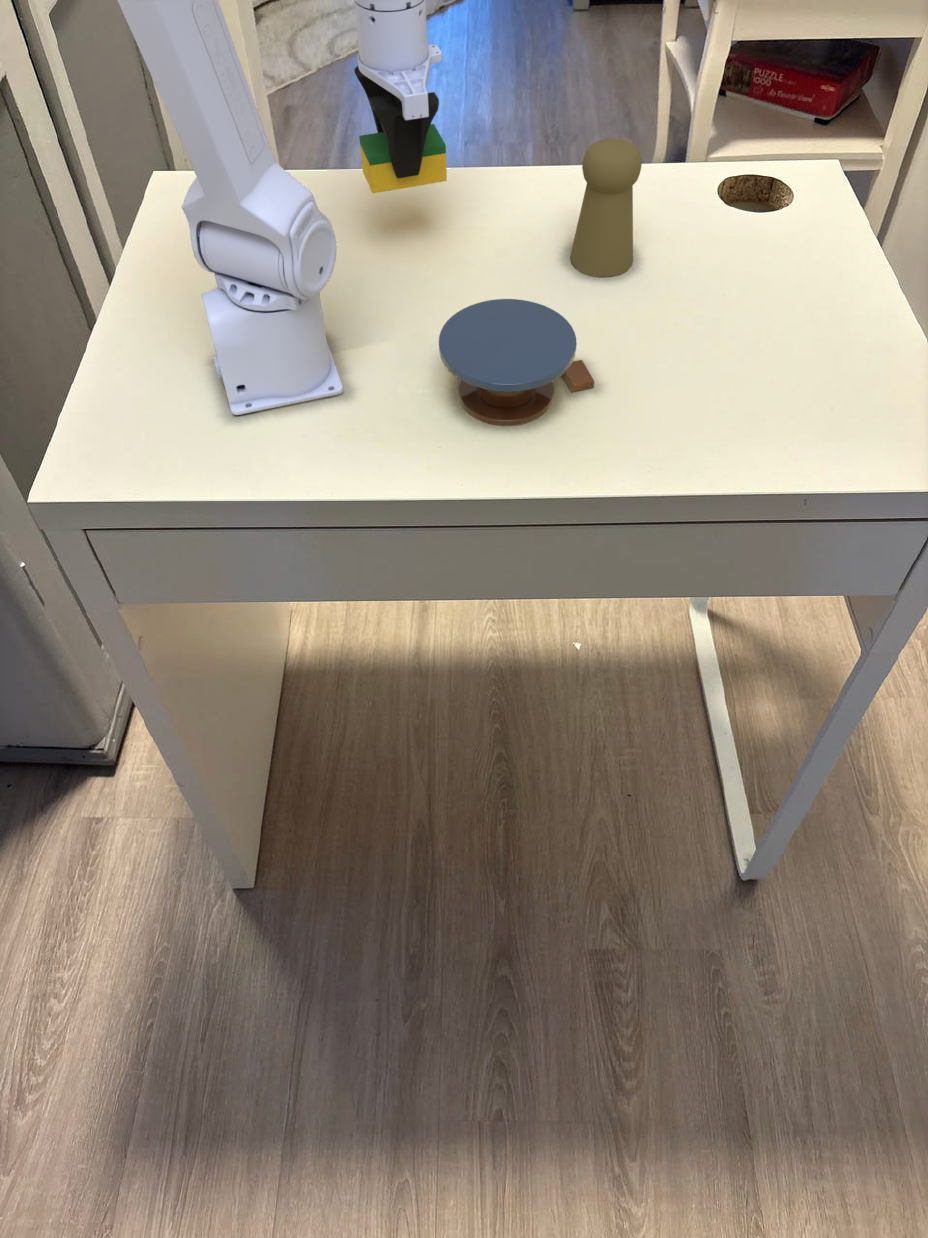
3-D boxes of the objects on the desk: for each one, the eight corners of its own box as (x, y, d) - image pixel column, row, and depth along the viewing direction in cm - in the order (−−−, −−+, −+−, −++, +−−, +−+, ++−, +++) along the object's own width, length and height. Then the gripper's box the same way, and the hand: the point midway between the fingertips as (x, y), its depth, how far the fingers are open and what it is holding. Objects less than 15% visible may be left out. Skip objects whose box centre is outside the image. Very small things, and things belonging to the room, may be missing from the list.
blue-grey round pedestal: (462, 450, 79) (461, 396, 74) (425, 366, 85) (422, 312, 81) (591, 422, 80) (597, 368, 76) (545, 342, 87) (548, 288, 82)
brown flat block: (594, 380, 83) (593, 389, 83) (582, 359, 84) (581, 367, 85) (572, 385, 82) (571, 393, 83) (560, 363, 84) (559, 372, 85)
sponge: (372, 193, 89) (369, 156, 86) (362, 171, 91) (358, 135, 88) (446, 180, 90) (445, 144, 87) (435, 159, 92) (433, 123, 90)
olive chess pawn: (632, 242, 96) (648, 129, 87) (633, 278, 93) (649, 164, 84) (571, 239, 97) (580, 127, 88) (568, 275, 93) (578, 161, 84)
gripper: (463, 27, 75) (465, 195, 86) (414, -44, 83) (422, 118, 94) (373, 40, 74) (387, 209, 85) (333, -33, 82) (350, 129, 93)
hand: (401, 162), depth 89 cm, fingers closed on sponge, 4 cm apart
